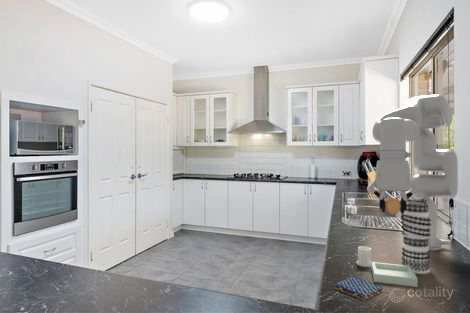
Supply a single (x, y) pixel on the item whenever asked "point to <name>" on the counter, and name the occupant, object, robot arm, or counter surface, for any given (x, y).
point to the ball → (392, 205)
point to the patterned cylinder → (416, 235)
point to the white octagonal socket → (364, 256)
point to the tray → (394, 274)
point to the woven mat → (359, 288)
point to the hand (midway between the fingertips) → (392, 211)
